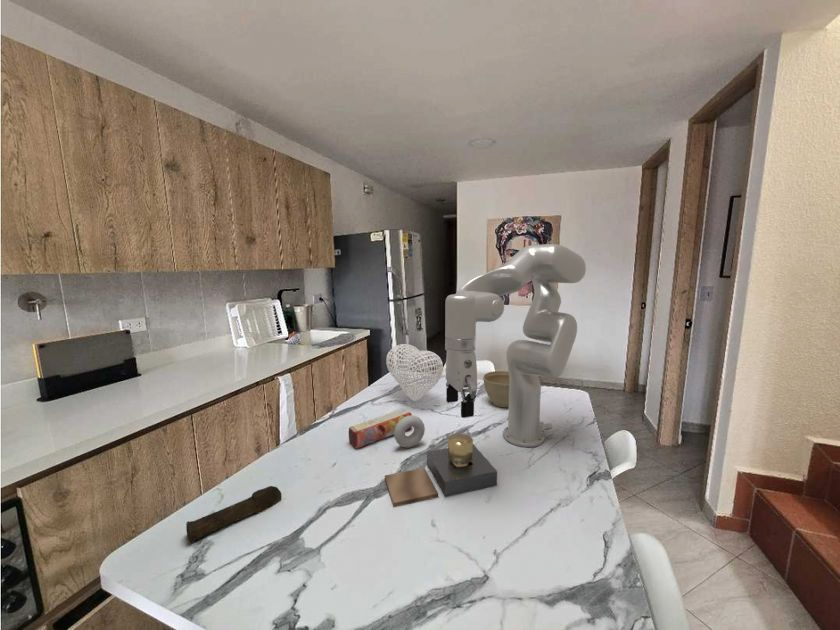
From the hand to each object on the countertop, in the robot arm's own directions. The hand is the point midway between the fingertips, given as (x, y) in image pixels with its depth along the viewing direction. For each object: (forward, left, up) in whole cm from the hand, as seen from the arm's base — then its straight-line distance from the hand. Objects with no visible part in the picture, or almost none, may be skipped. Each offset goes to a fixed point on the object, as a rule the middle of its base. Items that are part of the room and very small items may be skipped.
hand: (459, 408), depth 89 cm
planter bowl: (-35, -38, -19) cm, 55 cm away
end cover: (0, 0, -19) cm, 19 cm away
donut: (+9, -18, -19) cm, 28 cm away
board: (+14, +1, -19) cm, 23 cm away
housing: (0, 0, -19) cm, 19 cm away
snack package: (+16, -27, -19) cm, 37 cm away
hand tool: (+53, -1, -19) cm, 57 cm away
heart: (-2, -52, -19) cm, 55 cm away
